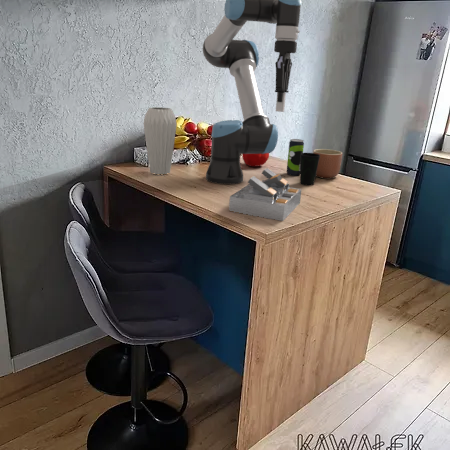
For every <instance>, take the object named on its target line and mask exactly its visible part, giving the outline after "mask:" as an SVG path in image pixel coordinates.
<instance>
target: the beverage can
mask: <svg viewBox="0 0 450 450" xmlns="http://www.w3.org/2000/svg"><path fill="white" fill-rule="evenodd" d="M304 147H305V141H304V140H303V139H300V138H292V139H291V138H290V140H289V143H288V152H287V153H288V155H287V163H286V174H287V175H288V176H296V177H297V176H300V157H301V153H304Z"/></svg>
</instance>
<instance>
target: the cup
mask: <svg viewBox="0 0 450 450" xmlns="http://www.w3.org/2000/svg"><path fill="white" fill-rule="evenodd" d="M319 158H320V155H319V154H315V153H313V152H303V153H301V157H300V175H299V184H300V185H303V186H308V187H309V186H314V185H315V180H316V178H317V176H316V172H317V167H318V163H319Z"/></svg>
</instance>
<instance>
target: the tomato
mask: <svg viewBox="0 0 450 450" xmlns="http://www.w3.org/2000/svg"><path fill="white" fill-rule="evenodd" d="M241 155H242V157H241V159H242V160H243V162H244V164H245V165H246V166H249V167H259V166H262V165H265V164H266V163H267V162H268V160H269V158H270V153H264V154H241Z"/></svg>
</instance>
